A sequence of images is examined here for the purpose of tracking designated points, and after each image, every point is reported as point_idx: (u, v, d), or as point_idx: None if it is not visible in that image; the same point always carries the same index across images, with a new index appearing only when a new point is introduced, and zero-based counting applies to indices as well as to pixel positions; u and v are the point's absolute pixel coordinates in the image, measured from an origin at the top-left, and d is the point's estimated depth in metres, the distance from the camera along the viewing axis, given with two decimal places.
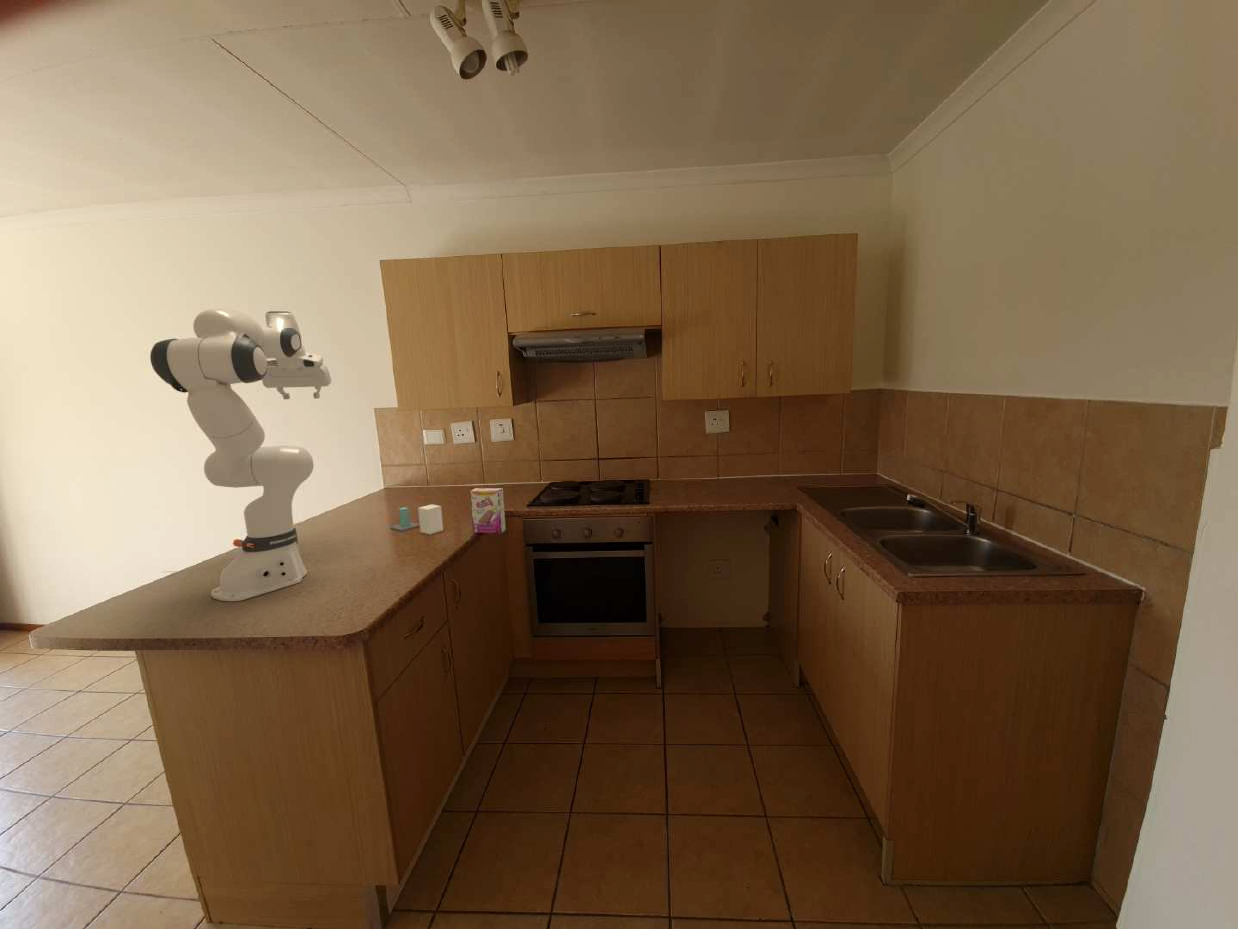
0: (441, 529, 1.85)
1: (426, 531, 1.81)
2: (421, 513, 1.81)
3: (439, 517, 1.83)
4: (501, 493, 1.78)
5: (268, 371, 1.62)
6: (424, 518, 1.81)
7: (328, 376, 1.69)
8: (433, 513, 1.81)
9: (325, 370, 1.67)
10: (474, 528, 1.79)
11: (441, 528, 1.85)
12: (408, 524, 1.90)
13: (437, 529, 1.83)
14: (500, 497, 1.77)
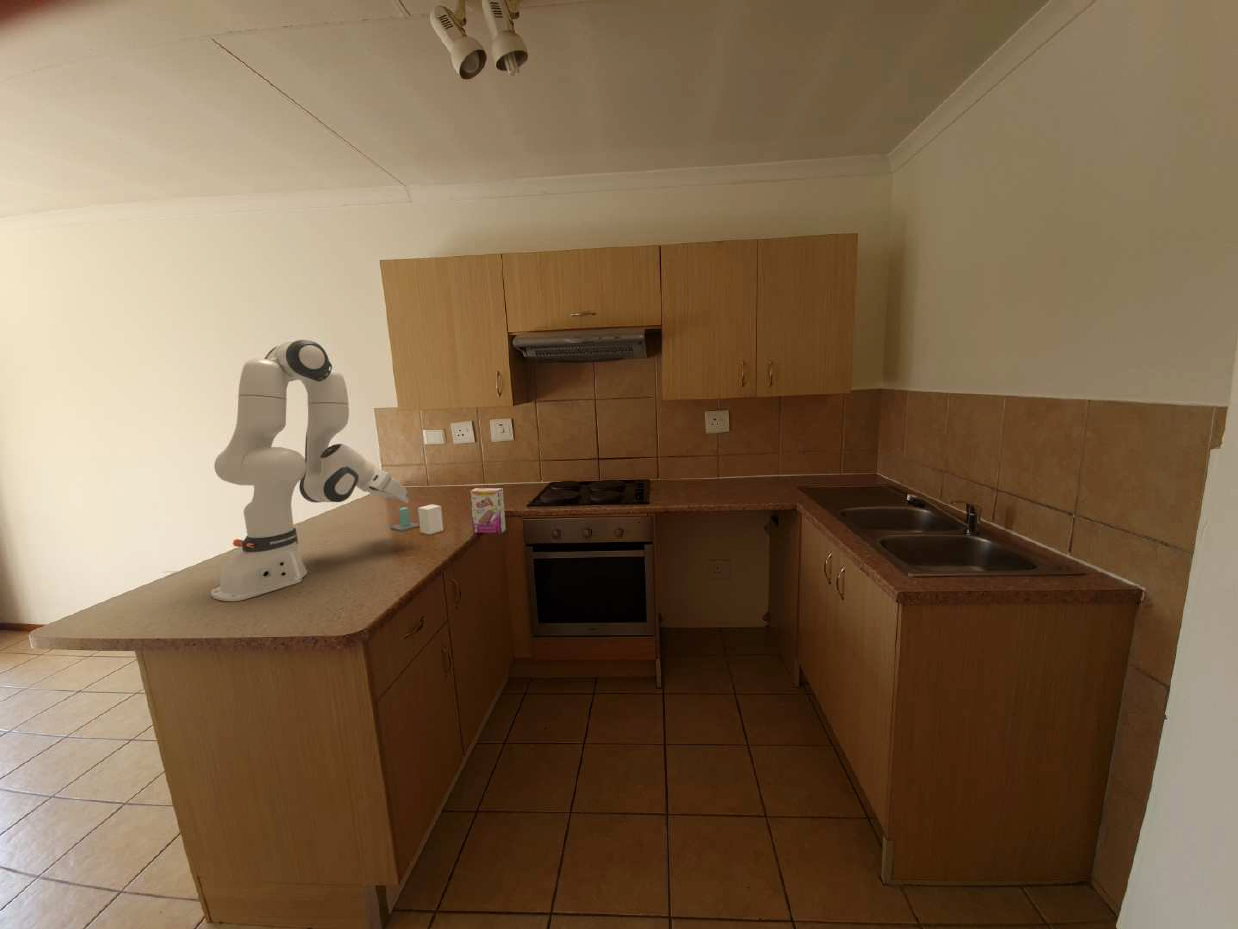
0: (441, 529, 1.85)
1: (426, 531, 1.81)
2: (421, 513, 1.81)
3: (439, 517, 1.83)
4: (501, 493, 1.78)
5: None
6: (424, 518, 1.81)
7: (398, 491, 1.61)
8: (433, 513, 1.81)
9: (392, 488, 1.60)
10: (474, 528, 1.79)
11: (441, 528, 1.85)
12: (408, 524, 1.90)
13: (437, 529, 1.83)
14: (500, 497, 1.77)
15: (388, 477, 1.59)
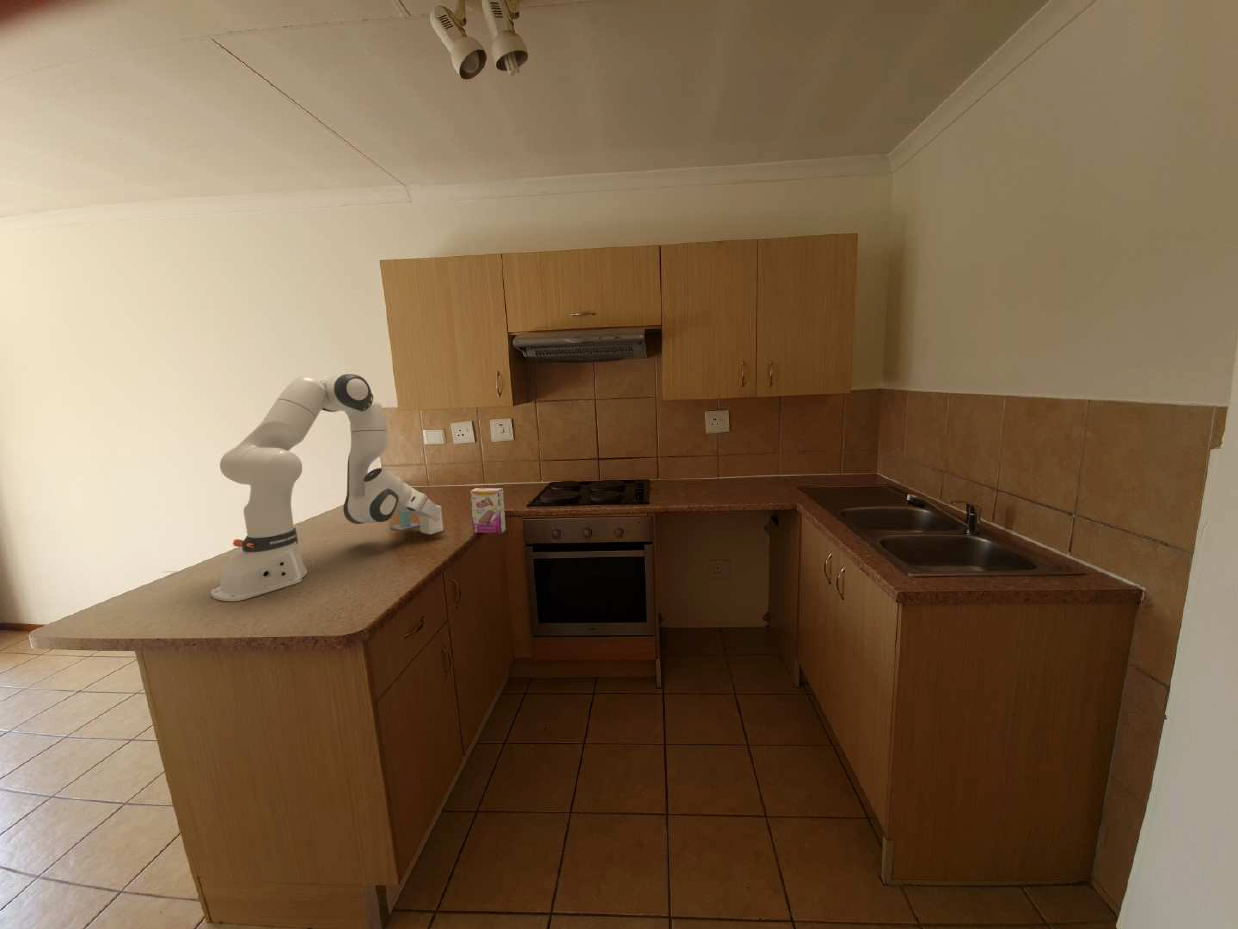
0: (441, 529, 1.85)
1: (426, 531, 1.81)
2: None
3: None
4: (501, 493, 1.78)
5: None
6: (424, 518, 1.81)
7: (434, 511, 1.73)
8: None
9: (428, 509, 1.72)
10: (474, 528, 1.79)
11: (441, 528, 1.85)
12: (408, 524, 1.90)
13: (437, 529, 1.83)
14: (500, 497, 1.77)
15: (424, 498, 1.71)
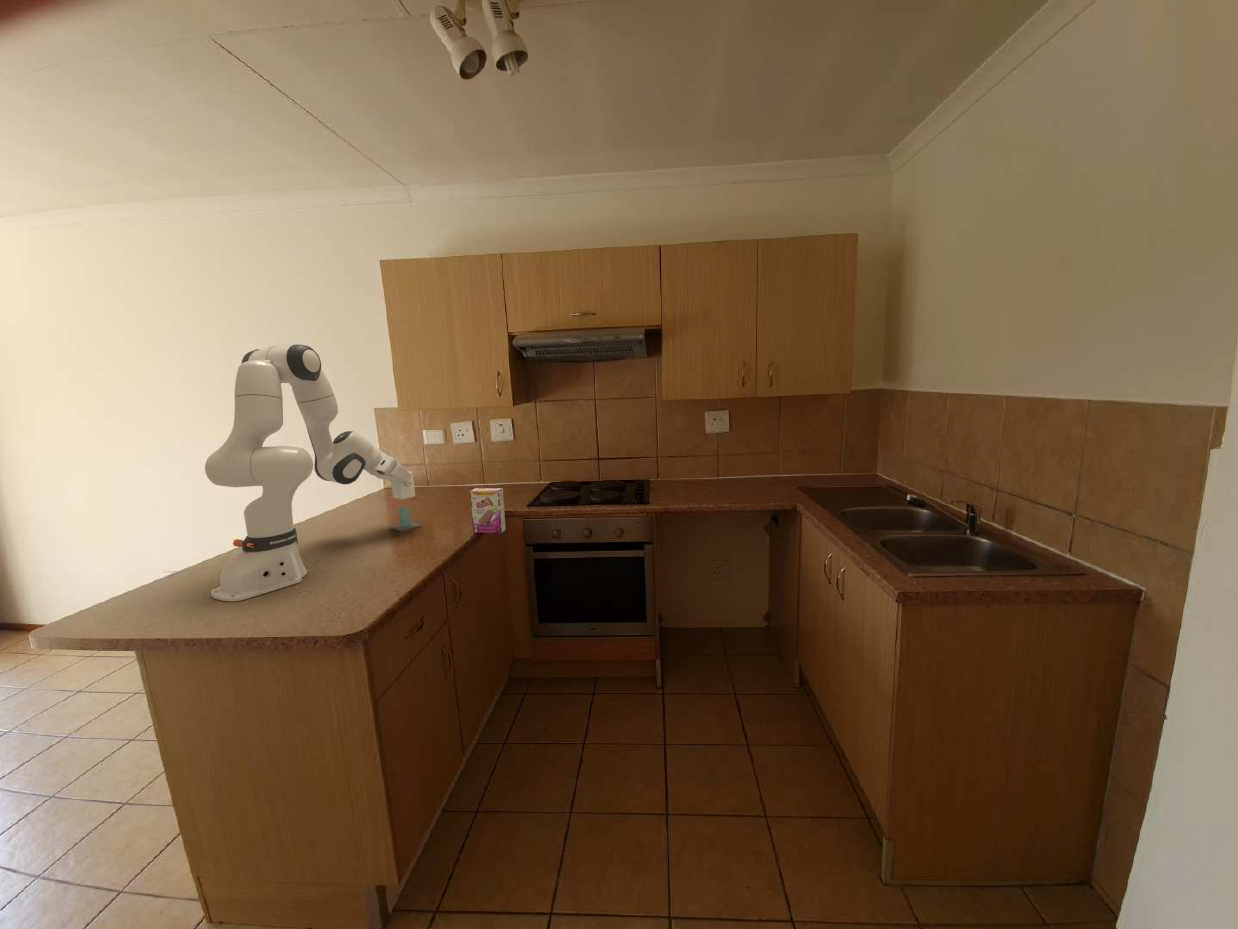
0: (413, 495, 1.88)
1: (398, 496, 1.85)
2: None
3: (411, 483, 1.87)
4: (501, 493, 1.78)
5: None
6: (396, 483, 1.84)
7: (403, 475, 1.77)
8: None
9: (397, 472, 1.75)
10: (474, 528, 1.79)
11: (413, 494, 1.88)
12: (408, 524, 1.90)
13: (409, 494, 1.87)
14: (500, 497, 1.77)
15: (394, 462, 1.75)
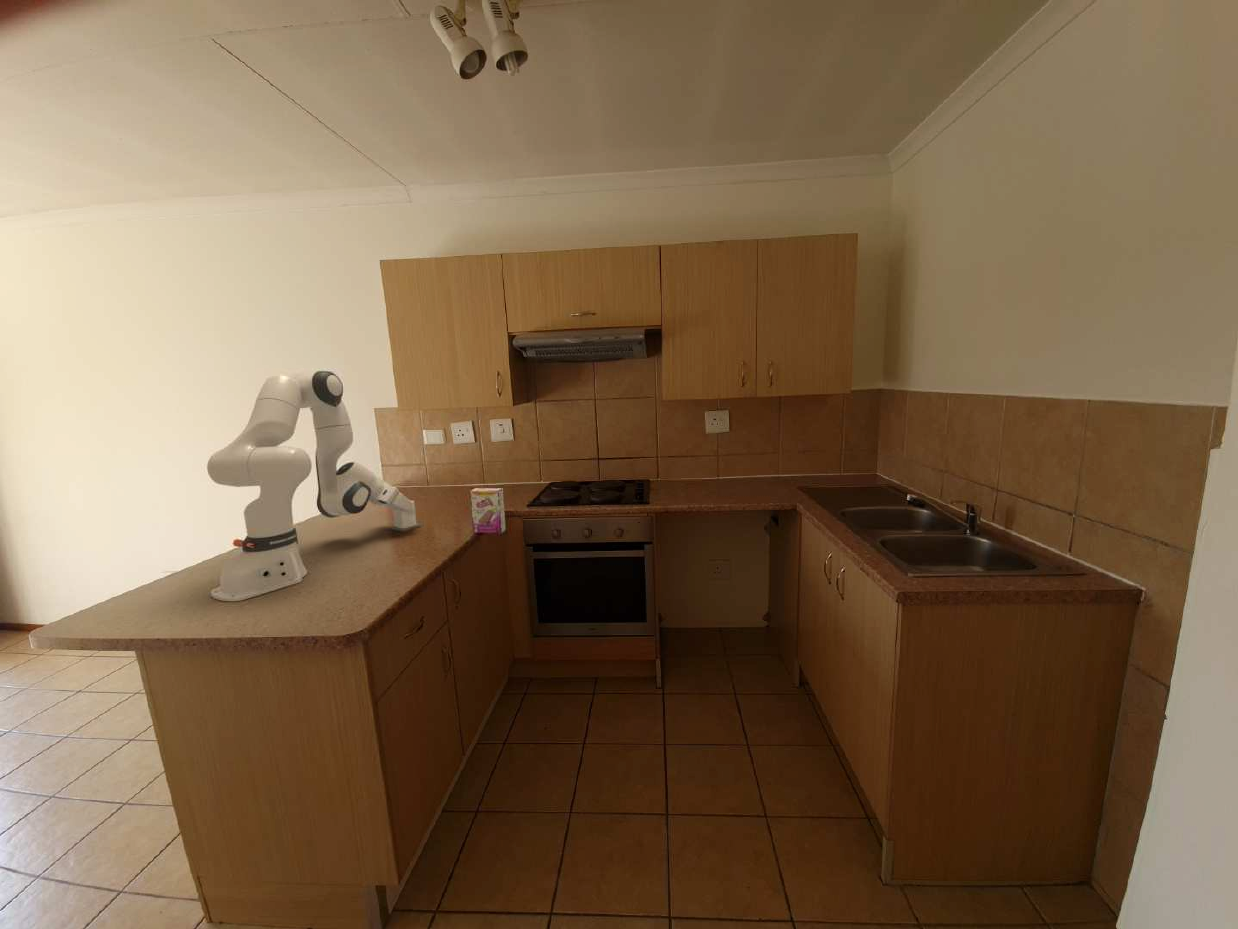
0: (414, 523, 1.90)
1: (399, 525, 1.87)
2: None
3: None
4: (501, 493, 1.78)
5: None
6: (398, 513, 1.87)
7: (405, 504, 1.79)
8: None
9: (399, 502, 1.77)
10: (474, 528, 1.79)
11: (414, 522, 1.90)
12: None
13: (410, 523, 1.89)
14: (500, 497, 1.77)
15: (396, 492, 1.77)
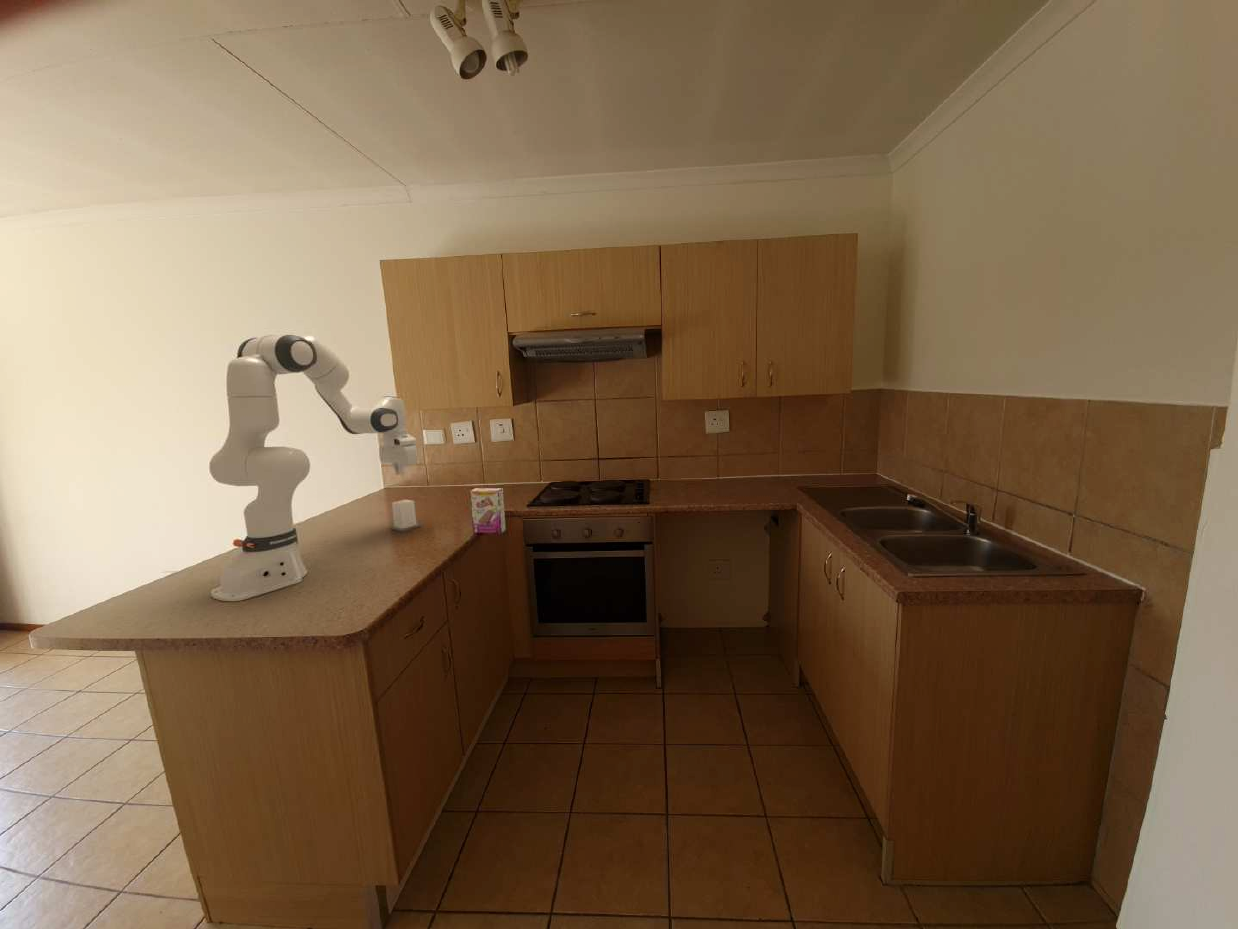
0: (414, 523, 1.90)
1: (399, 525, 1.87)
2: (394, 508, 1.87)
3: (412, 512, 1.89)
4: (501, 493, 1.78)
5: (382, 447, 1.88)
6: (398, 513, 1.87)
7: (412, 456, 1.80)
8: (406, 508, 1.87)
9: (410, 450, 1.79)
10: (474, 528, 1.79)
11: (414, 522, 1.90)
12: None
13: (410, 523, 1.89)
14: (500, 497, 1.77)
15: (413, 442, 1.81)
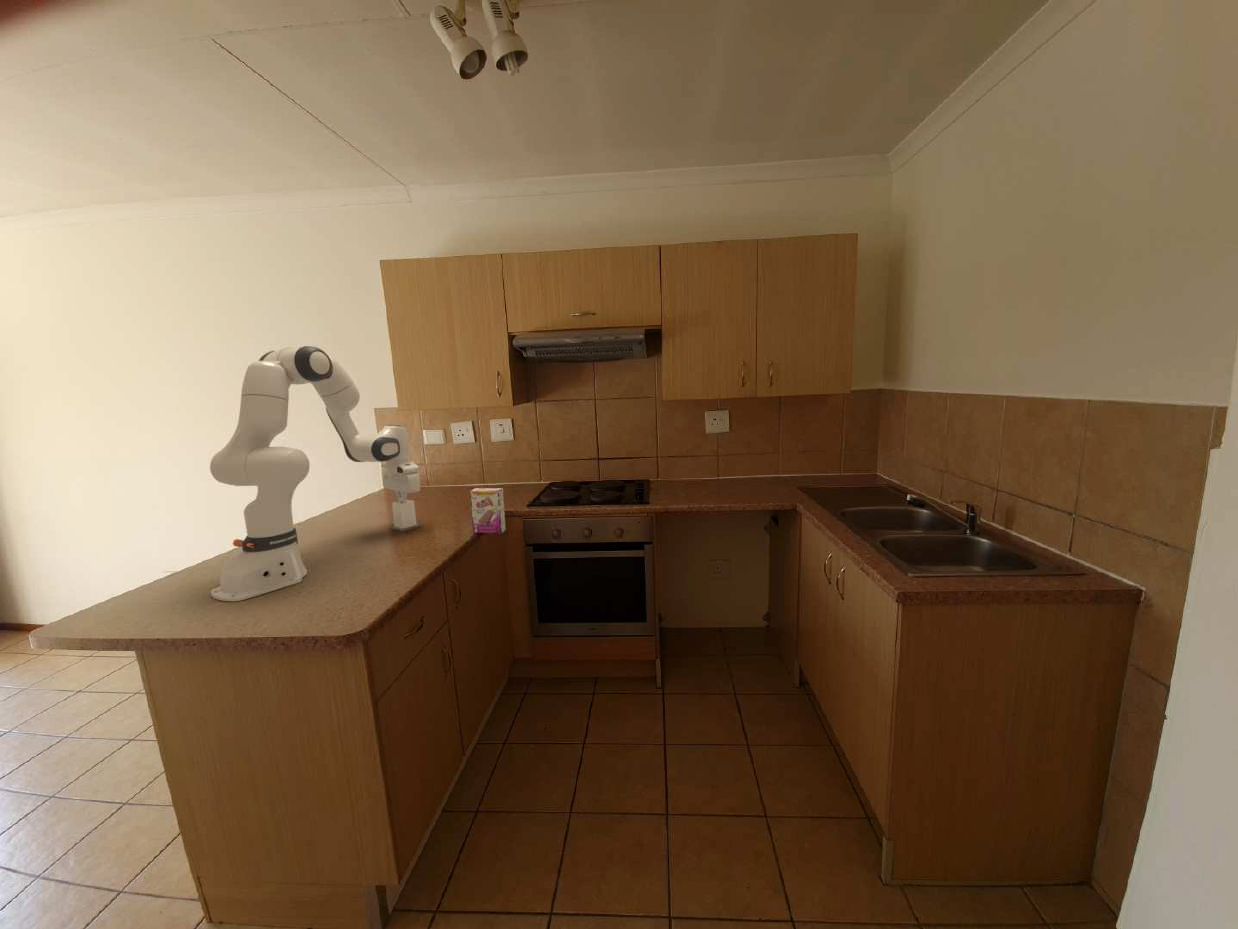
0: (414, 523, 1.90)
1: (399, 525, 1.87)
2: (394, 508, 1.87)
3: (412, 512, 1.89)
4: (501, 493, 1.78)
5: (385, 474, 1.89)
6: (398, 513, 1.87)
7: (415, 484, 1.82)
8: (406, 508, 1.87)
9: (413, 478, 1.81)
10: (474, 528, 1.79)
11: (414, 522, 1.90)
12: None
13: (410, 523, 1.89)
14: (500, 497, 1.77)
15: (416, 469, 1.83)
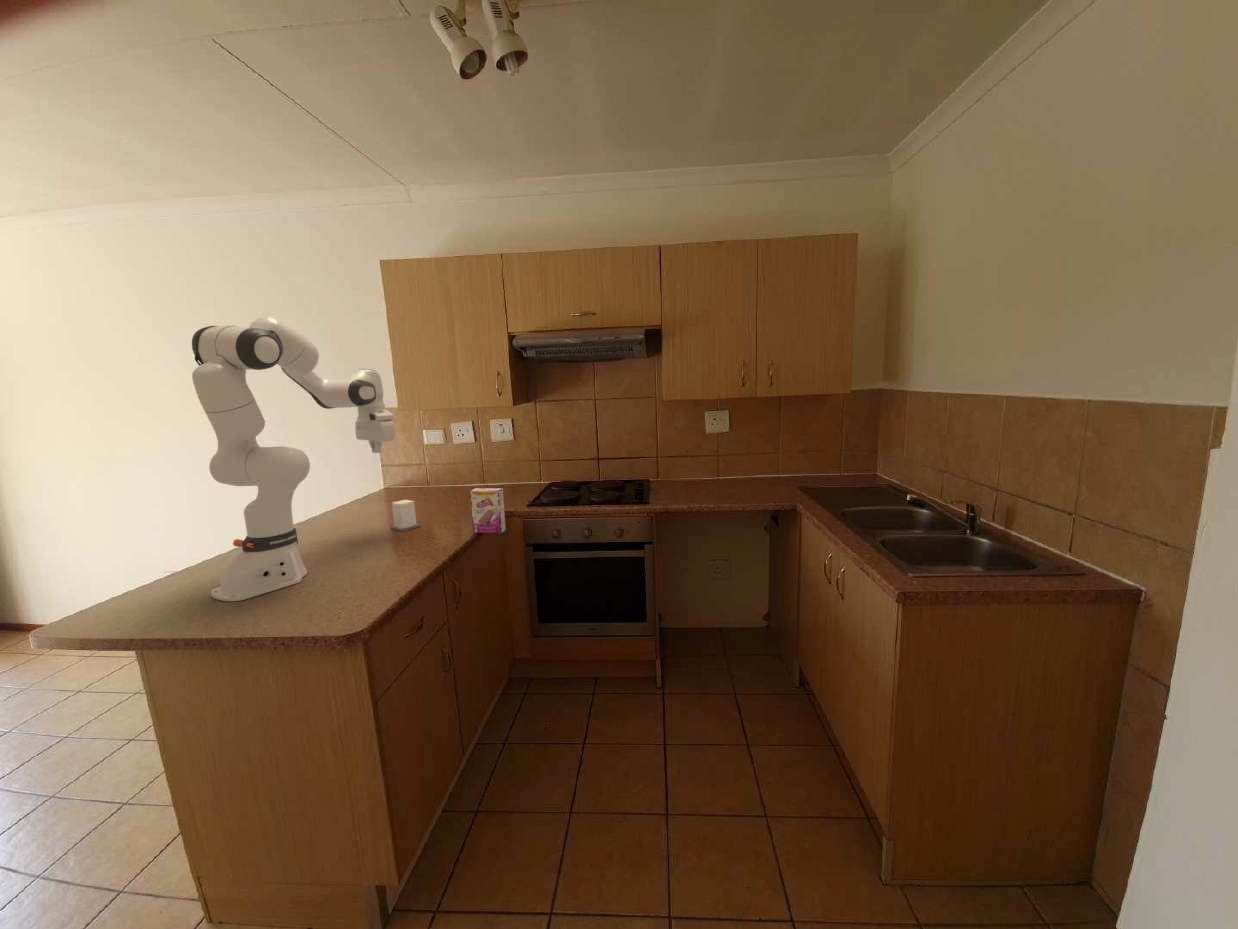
0: (414, 523, 1.90)
1: (399, 525, 1.87)
2: (394, 508, 1.87)
3: (412, 512, 1.89)
4: (501, 493, 1.78)
5: (358, 423, 1.78)
6: (398, 513, 1.87)
7: (389, 432, 1.70)
8: (406, 508, 1.87)
9: (386, 425, 1.70)
10: (474, 528, 1.79)
11: (414, 522, 1.90)
12: None
13: (410, 523, 1.89)
14: (500, 497, 1.77)
15: (390, 417, 1.72)
